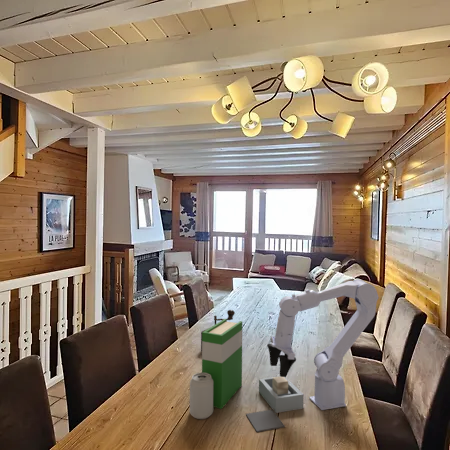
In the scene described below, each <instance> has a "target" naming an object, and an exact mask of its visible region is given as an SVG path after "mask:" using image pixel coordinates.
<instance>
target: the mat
mask: <svg viewBox="0 0 450 450" xmlns="http://www.w3.org/2000/svg"><path fill="white" fill-rule="evenodd" d="M245 416H246V418H247V419H248V420H249V422H250V423H251V425H252V427H253V429H254V430H255V432H256V433H260V432H264V431H271V430H277V429H281V428H285V427H286V425H285V424H284V423H283V421H282V420H281V419H280V417H279V416H278V415H277V413H275V412H274V410H273V409H268V410H260V411H254V412H248V413H247V412H246V413H245Z"/></svg>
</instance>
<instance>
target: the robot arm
mask: <svg viewBox="0 0 450 450" xmlns="http://www.w3.org/2000/svg"><path fill="white" fill-rule="evenodd" d="M341 297H347V298H351V299H354V303H355V307H356V311H355V313H353V315H352V316H351V317H350V319H349V320H348V321H347V323H346V324H345V325H344V326H343V328H342V329H341V330H340V332H339V333H338V334H337V336H336V338H334V340H333V341H332V342H331V344H330V345H329V346H325V347H324V349H322V351H319V352H318V353H316V354H315V356H314V358H313V359H314V360H313V363H314V365H315V368H316V371H315V372H314V395H313V396H309V397H308V398H309V400H311V401H312V402H313V403H314V404H315V405H316V406H317V407H318V408H319V409H320V410H321V411H326V410H330V409H331V410H332V409H339V408H343V407H346V406H347V404H346V403H345V401H346V399H345V397H346V387H345V381H344V379H343V377H342V376H341V375H340V374H339V373H340V370H341V367H342V366H343V360H344V357H345V355H346V354H347V353H348V352H349V350H350V349H351V347H352V346H353V345H354V343H355V342H356V341H357V339H358V338H359V337H360V336H361V334H362V333H363V332H364V330H365V329H366V328H367V327H368V325H369V324H370V323H371V321H373V319H374V317H375V315H376V313H377V311H376V310H377V302H378V300H379V298H380V297H379V294H378V290H377V288H376V287H375V286H374V285H373V284H371V283H369V282H366V281H364V280H363V279H359V278H357V279H354V280H353V281H352V280H348V281H345V282H342V283H339V284H337V285H334V286H331V287H328V288H325V289H323V290H322V289H321V290H320V291H315V290H314V289H311V290H310V289H309V288H307V289H305V290H304V292H300V293H297V294H295V293H293V294H291V296H290V295H287V296H283V297H282V298H281V299H280V301H279V302H278V305H279V309H280V310H279V313H278V318H277V322H276V330H275V336H274V335H273V336H270V341H269V342H270V343H268V344H267V345H266V346H267V349H268V353H269V365H270V366H271V367H277V365H278V362H279V366H280V367H279V376H281V377H286V378H287V376H288V374H289V372H290V369H291V367H292V366H293V365H294V363H295V362H296V361H297V358H296V357H295V356H296V353H295V352H294V350H293V347H292V341H293V335H294V330H295V329H294V328H295V323H296V316H297V314H298V313H299V312H304V311H307V310H310V309H314V308H316V307H317V308H318V307H319V306H320V304H321V302H324V301H325V302H326V301H329V300H333V299H337V298H341ZM281 353H282V354H281Z"/></svg>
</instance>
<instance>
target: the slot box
mask: <svg viewBox="0 0 450 450" xmlns="http://www.w3.org/2000/svg"><path fill="white" fill-rule="evenodd" d="M273 377H274V376H271V377H264V378H259V379H258V393H259V394H260V395H261V396H262V398H263V399H264V400H265V401H266V403H267V404H268V405H269V407H270V408H271V410H273V411H274V412H275V414H277V413H283V412H289V411H296V410H301V409H304V398H305V397H304V393H303V392H302V391H301V390H300V389H298V387H297V386H296V385H295V384H293V382H291V381H290V380H289V378H287V376H286V377H284V378H285V379H286V380H287V381H288V393H285V394H278V395H277V394H276V392H275V391H274V390H273V389H272V383H273ZM276 377H280V375H279V376H278V375H277V376H276Z"/></svg>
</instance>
